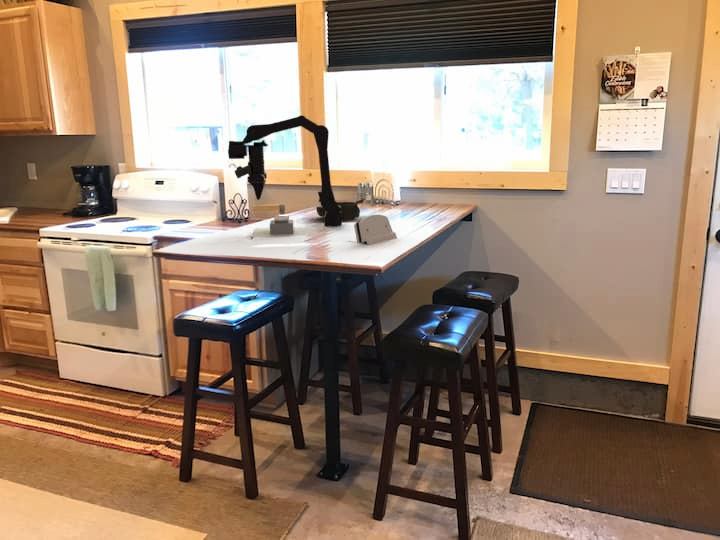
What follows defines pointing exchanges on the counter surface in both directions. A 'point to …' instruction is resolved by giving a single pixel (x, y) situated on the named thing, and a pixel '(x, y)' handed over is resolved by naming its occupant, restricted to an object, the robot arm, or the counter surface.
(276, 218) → the pin
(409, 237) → the counter surface
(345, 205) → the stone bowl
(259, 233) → the block
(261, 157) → the robot arm
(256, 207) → the bar
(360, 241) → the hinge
